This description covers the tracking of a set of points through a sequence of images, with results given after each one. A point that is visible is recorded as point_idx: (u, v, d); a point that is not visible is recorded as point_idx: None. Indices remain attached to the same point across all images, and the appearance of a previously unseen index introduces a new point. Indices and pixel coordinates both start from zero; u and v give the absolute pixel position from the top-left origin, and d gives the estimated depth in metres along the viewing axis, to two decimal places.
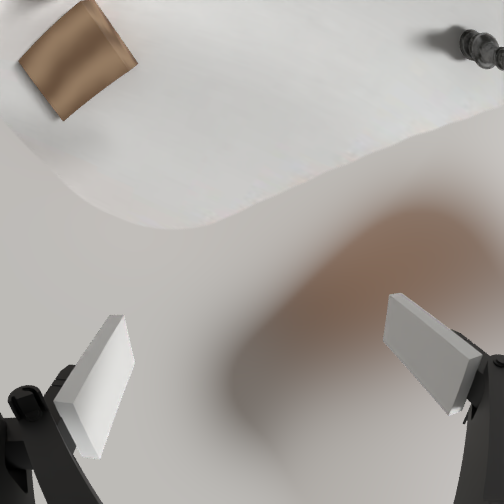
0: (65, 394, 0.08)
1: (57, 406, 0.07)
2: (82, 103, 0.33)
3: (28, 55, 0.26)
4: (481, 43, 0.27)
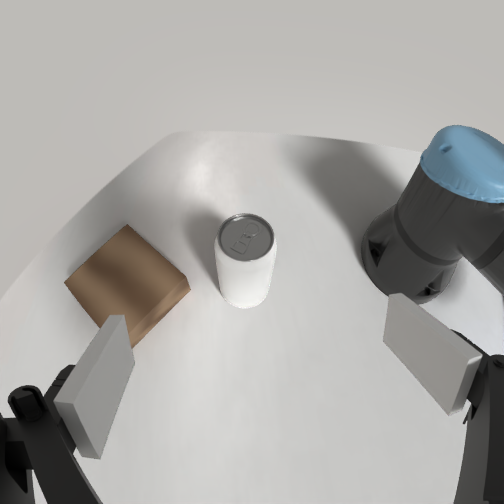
0: (65, 394, 0.08)
1: (57, 406, 0.07)
2: (80, 301, 0.35)
3: (131, 234, 0.40)
4: None
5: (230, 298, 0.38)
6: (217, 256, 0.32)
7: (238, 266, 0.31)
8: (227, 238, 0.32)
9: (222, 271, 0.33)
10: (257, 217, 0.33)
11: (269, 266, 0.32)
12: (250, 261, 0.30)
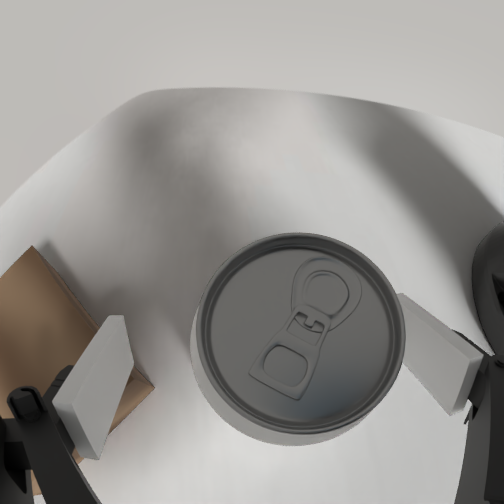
0: (64, 395, 0.08)
1: (56, 407, 0.07)
2: None
3: (34, 267, 0.17)
4: None
5: None
6: (200, 387, 0.08)
7: (279, 437, 0.07)
8: (235, 332, 0.08)
9: None
10: (339, 247, 0.09)
11: None
12: (328, 429, 0.07)
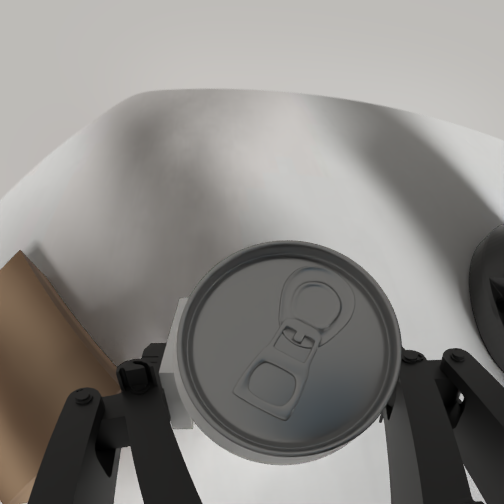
0: (169, 365, 0.10)
1: (161, 377, 0.10)
2: None
3: (22, 272, 0.16)
4: None
5: None
6: (184, 403, 0.08)
7: (265, 457, 0.07)
8: (219, 347, 0.07)
9: None
10: (331, 255, 0.09)
11: None
12: (318, 451, 0.06)
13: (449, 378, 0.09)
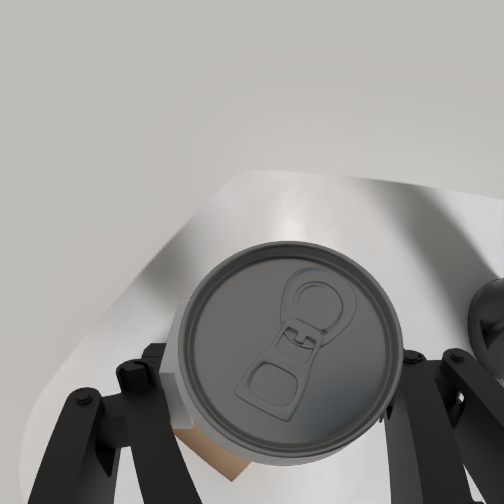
0: (169, 365, 0.10)
1: (161, 377, 0.10)
2: None
3: None
4: None
5: None
6: (185, 404, 0.08)
7: (267, 458, 0.07)
8: (220, 348, 0.07)
9: None
10: (333, 256, 0.09)
11: None
12: None
13: (449, 378, 0.09)
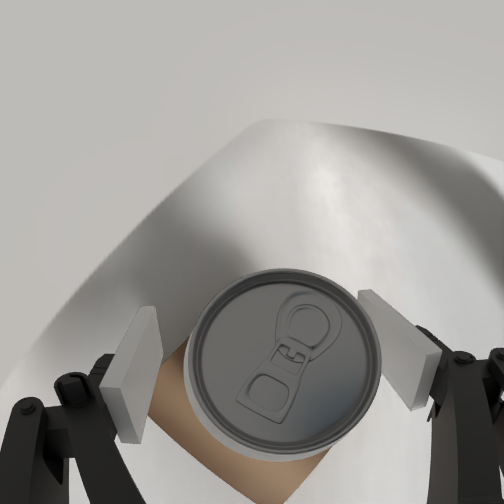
0: (110, 379, 0.09)
1: (102, 391, 0.09)
2: (177, 439, 0.17)
3: None
4: None
5: None
6: (193, 408, 0.09)
7: (263, 454, 0.08)
8: (224, 362, 0.09)
9: None
10: (322, 281, 0.10)
11: None
12: None
13: (497, 377, 0.08)
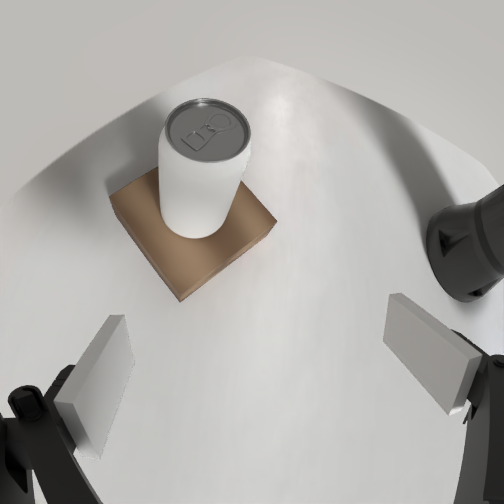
0: (65, 394, 0.08)
1: (57, 406, 0.07)
2: (132, 226, 0.28)
3: None
4: None
5: (169, 219, 0.27)
6: (159, 149, 0.20)
7: (185, 167, 0.19)
8: (180, 125, 0.19)
9: (162, 174, 0.21)
10: (232, 108, 0.20)
11: (232, 180, 0.21)
12: (205, 163, 0.19)
13: None
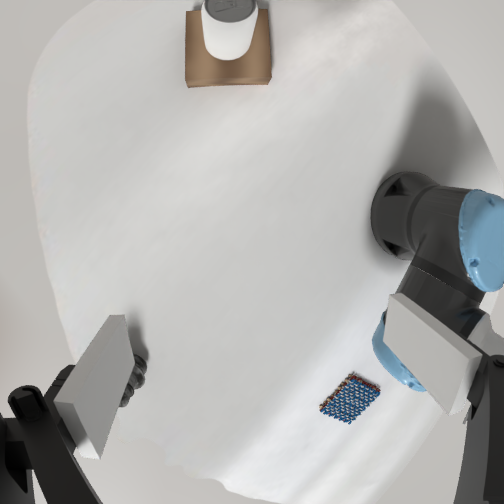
0: (65, 394, 0.08)
1: (57, 406, 0.07)
2: (187, 33, 0.37)
3: (263, 18, 0.37)
4: (134, 372, 0.49)
5: (204, 39, 0.35)
6: None
7: (206, 16, 0.27)
8: None
9: None
10: None
11: (229, 34, 0.29)
12: (213, 18, 0.27)
13: None
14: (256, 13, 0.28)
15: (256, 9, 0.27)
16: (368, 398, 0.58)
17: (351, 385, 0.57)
